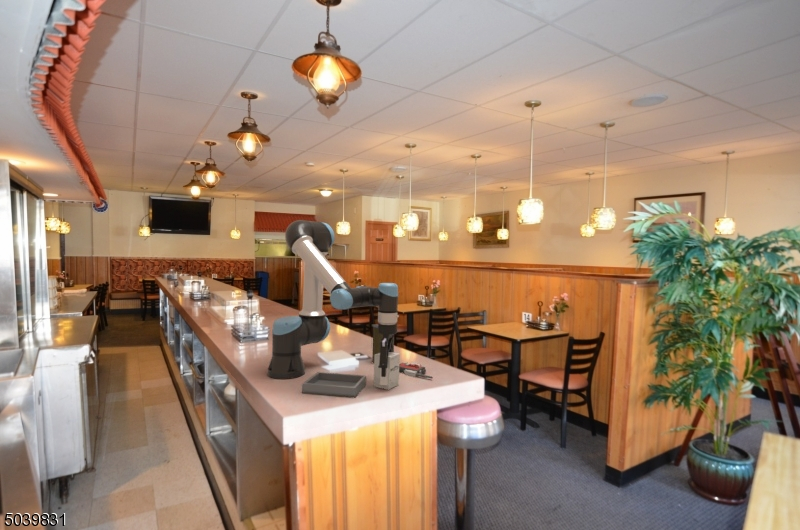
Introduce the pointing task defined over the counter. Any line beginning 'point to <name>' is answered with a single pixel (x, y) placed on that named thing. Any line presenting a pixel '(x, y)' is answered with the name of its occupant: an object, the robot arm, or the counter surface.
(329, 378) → the grey tray
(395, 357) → the supplement box
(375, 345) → the canister
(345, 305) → the robot arm
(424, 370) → the red grey elongated piece
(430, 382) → the counter surface
